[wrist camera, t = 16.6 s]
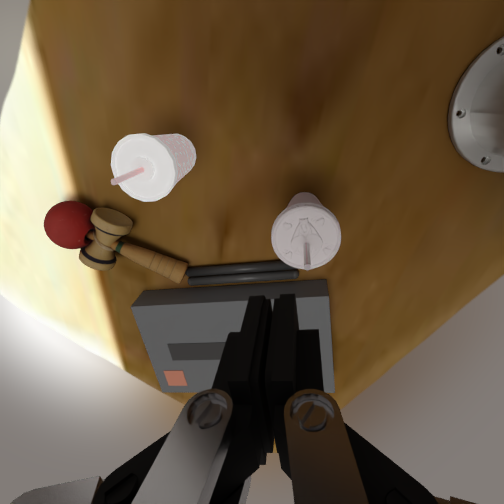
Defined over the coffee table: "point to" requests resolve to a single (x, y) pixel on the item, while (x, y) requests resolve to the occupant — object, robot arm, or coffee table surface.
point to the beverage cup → (151, 164)
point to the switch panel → (221, 320)
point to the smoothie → (306, 233)
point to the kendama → (104, 239)
